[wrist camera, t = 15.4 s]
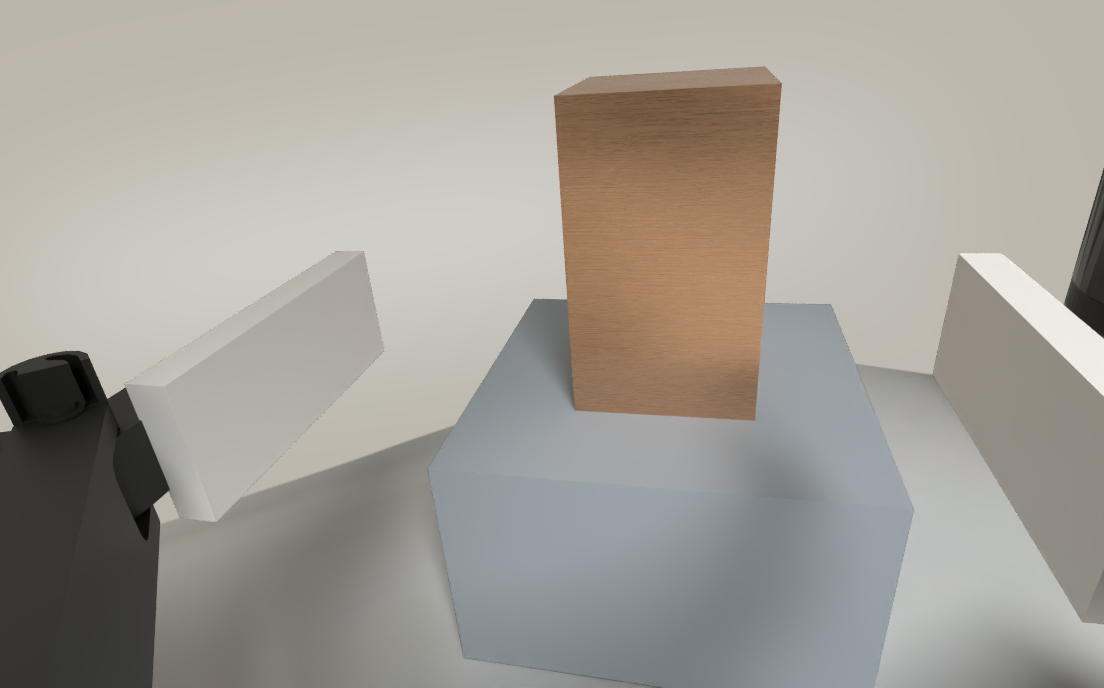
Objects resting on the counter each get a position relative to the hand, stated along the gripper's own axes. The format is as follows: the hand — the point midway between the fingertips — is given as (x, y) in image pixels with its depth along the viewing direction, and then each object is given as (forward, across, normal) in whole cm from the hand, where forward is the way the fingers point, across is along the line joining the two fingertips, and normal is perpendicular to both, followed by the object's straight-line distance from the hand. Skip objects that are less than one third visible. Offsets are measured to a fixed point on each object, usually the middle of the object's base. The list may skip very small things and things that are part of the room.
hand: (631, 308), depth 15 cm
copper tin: (+12, 0, -8) cm, 14 cm away
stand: (+12, 0, -18) cm, 22 cm away
